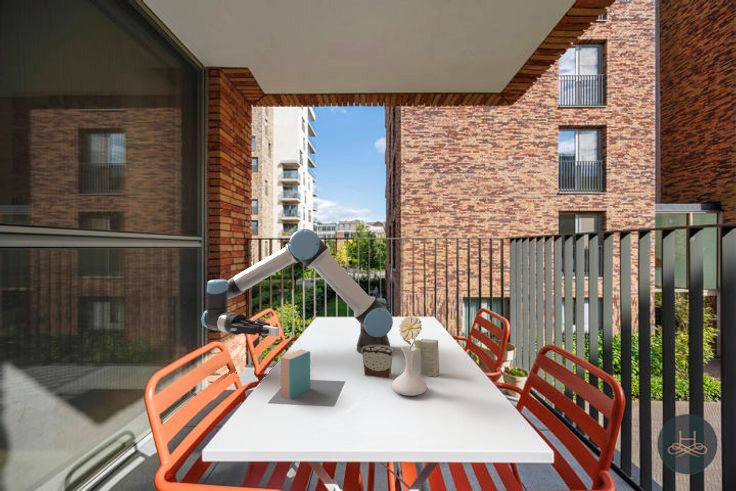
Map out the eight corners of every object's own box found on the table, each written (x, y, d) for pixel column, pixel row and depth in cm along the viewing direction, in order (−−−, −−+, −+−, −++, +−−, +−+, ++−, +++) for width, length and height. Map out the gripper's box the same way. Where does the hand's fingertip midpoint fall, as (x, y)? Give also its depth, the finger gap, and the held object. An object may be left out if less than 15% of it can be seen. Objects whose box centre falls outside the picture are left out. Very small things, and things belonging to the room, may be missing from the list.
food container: (398, 373, 123) (397, 345, 123) (393, 379, 117) (393, 351, 117) (366, 369, 127) (366, 342, 127) (360, 375, 121) (360, 347, 121)
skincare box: (439, 373, 123) (439, 339, 123) (436, 377, 119) (436, 343, 119) (422, 370, 125) (422, 338, 125) (419, 374, 121) (418, 341, 121)
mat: (345, 383, 114) (345, 381, 114) (333, 408, 96) (333, 406, 96) (288, 380, 117) (288, 378, 117) (267, 405, 99) (267, 403, 99)
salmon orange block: (280, 396, 103) (280, 357, 103) (301, 385, 111) (300, 349, 111) (290, 399, 101) (290, 359, 101) (310, 388, 109) (310, 351, 109)
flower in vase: (385, 387, 111) (384, 311, 111) (415, 381, 115) (414, 309, 115) (404, 404, 99) (404, 319, 99) (437, 397, 103) (436, 316, 103)
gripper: (247, 329, 132) (291, 338, 119) (217, 337, 120) (262, 348, 108) (247, 310, 132) (291, 317, 119) (217, 316, 120) (262, 325, 108)
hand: (277, 332), depth 114 cm, fingers closed
